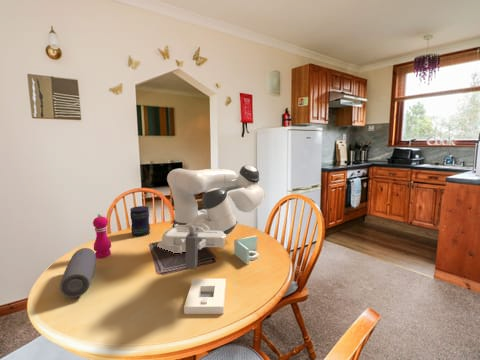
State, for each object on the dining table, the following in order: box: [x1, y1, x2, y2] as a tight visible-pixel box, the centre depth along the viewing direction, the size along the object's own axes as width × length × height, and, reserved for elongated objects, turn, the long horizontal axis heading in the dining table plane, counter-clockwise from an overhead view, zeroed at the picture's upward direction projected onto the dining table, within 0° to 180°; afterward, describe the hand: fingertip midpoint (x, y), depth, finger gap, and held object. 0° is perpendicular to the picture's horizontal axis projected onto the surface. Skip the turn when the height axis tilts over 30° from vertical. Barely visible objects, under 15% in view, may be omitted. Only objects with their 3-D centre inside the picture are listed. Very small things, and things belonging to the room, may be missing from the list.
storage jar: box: [129, 205, 151, 238], centre depth 144 cm, size 10×10×15 cm
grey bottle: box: [184, 225, 199, 270], centre depth 80 cm, size 4×3×13 cm, turn 0°
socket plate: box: [183, 278, 227, 315], centre depth 86 cm, size 16×12×3 cm
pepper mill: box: [92, 213, 112, 259], centre depth 117 cm, size 7×7×20 cm
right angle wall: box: [233, 235, 260, 265], centre depth 117 cm, size 12×12×8 cm
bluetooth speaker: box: [59, 247, 97, 299], centre depth 94 cm, size 23×9×10 cm, turn 24°
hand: (191, 247), depth 80 cm, fingers closed on grey bottle, 3 cm apart
